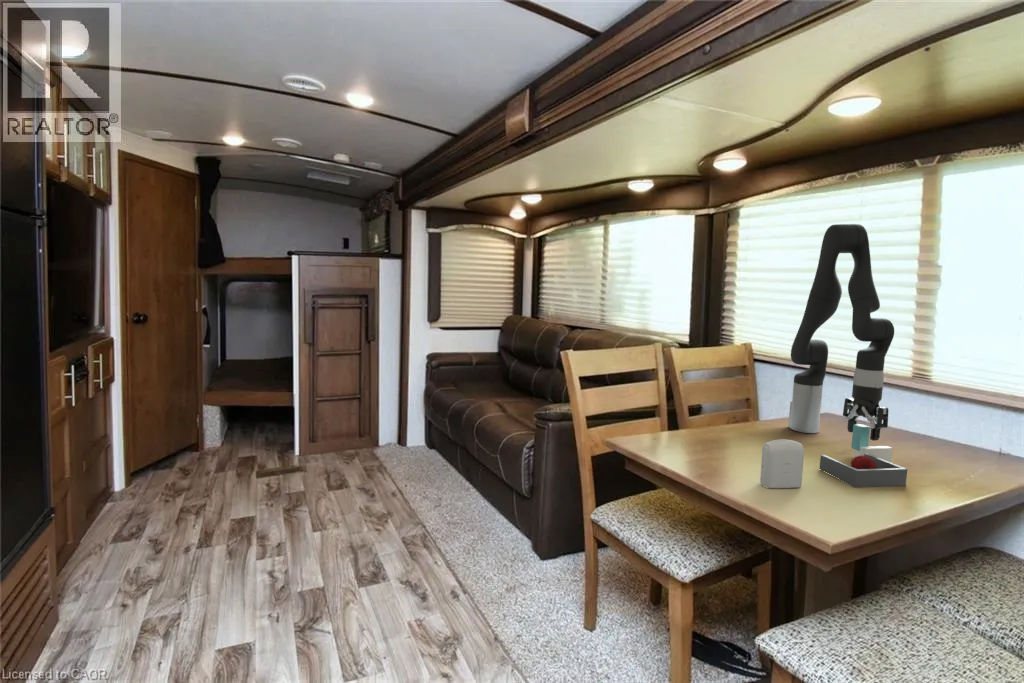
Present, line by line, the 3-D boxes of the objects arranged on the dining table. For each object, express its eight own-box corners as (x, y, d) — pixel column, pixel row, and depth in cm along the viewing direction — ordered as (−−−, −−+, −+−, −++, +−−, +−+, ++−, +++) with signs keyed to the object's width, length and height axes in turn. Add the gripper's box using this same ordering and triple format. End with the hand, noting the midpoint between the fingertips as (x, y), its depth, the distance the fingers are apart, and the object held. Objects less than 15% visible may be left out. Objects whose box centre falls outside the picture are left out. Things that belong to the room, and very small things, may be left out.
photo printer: (766, 489, 134) (770, 442, 133) (756, 483, 139) (760, 437, 137) (804, 489, 135) (808, 442, 134) (793, 482, 140) (797, 437, 138)
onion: (840, 462, 148) (863, 472, 140) (854, 447, 148) (878, 457, 140) (851, 475, 149) (875, 486, 141) (865, 461, 149) (890, 471, 141)
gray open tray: (819, 470, 150) (820, 454, 149) (865, 468, 152) (867, 453, 152) (855, 487, 137) (857, 470, 137) (905, 485, 139) (907, 469, 139)
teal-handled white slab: (841, 455, 163) (845, 424, 162) (867, 455, 165) (870, 423, 164) (864, 465, 155) (867, 432, 154) (890, 464, 156) (894, 431, 155)
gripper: (838, 379, 166) (834, 429, 168) (876, 388, 152) (871, 443, 154) (859, 379, 167) (855, 429, 169) (899, 388, 153) (893, 442, 155)
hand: (862, 435), depth 161 cm, fingers open, 8 cm apart
